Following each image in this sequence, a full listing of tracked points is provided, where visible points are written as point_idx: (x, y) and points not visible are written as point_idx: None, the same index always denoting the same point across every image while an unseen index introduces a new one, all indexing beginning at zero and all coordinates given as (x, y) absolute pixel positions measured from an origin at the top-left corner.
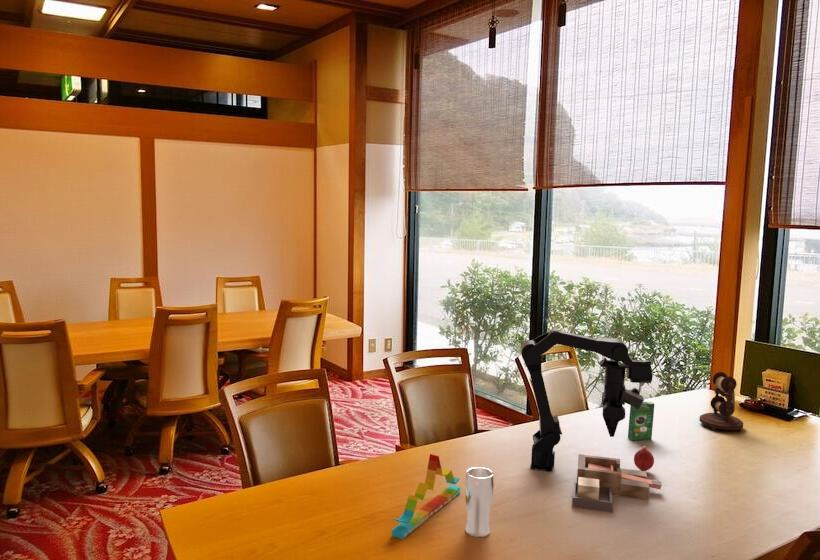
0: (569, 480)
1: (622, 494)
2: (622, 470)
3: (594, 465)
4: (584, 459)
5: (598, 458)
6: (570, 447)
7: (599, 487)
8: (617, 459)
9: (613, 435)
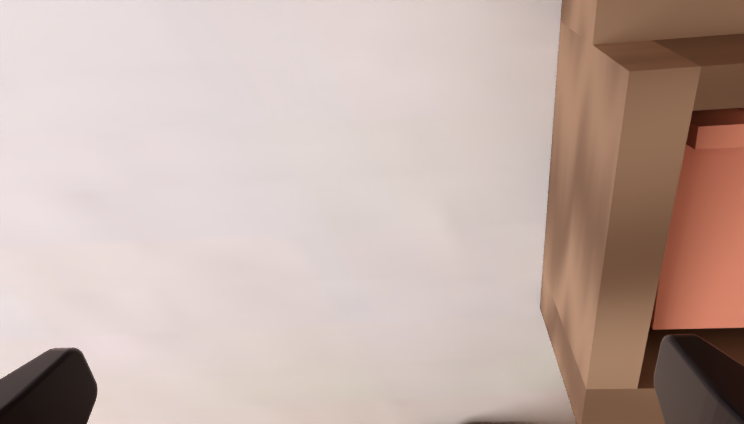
0: None
1: None
2: (656, 4)
3: (686, 281)
4: None
5: (656, 288)
6: None
7: None
8: (655, 98)
9: (719, 360)
